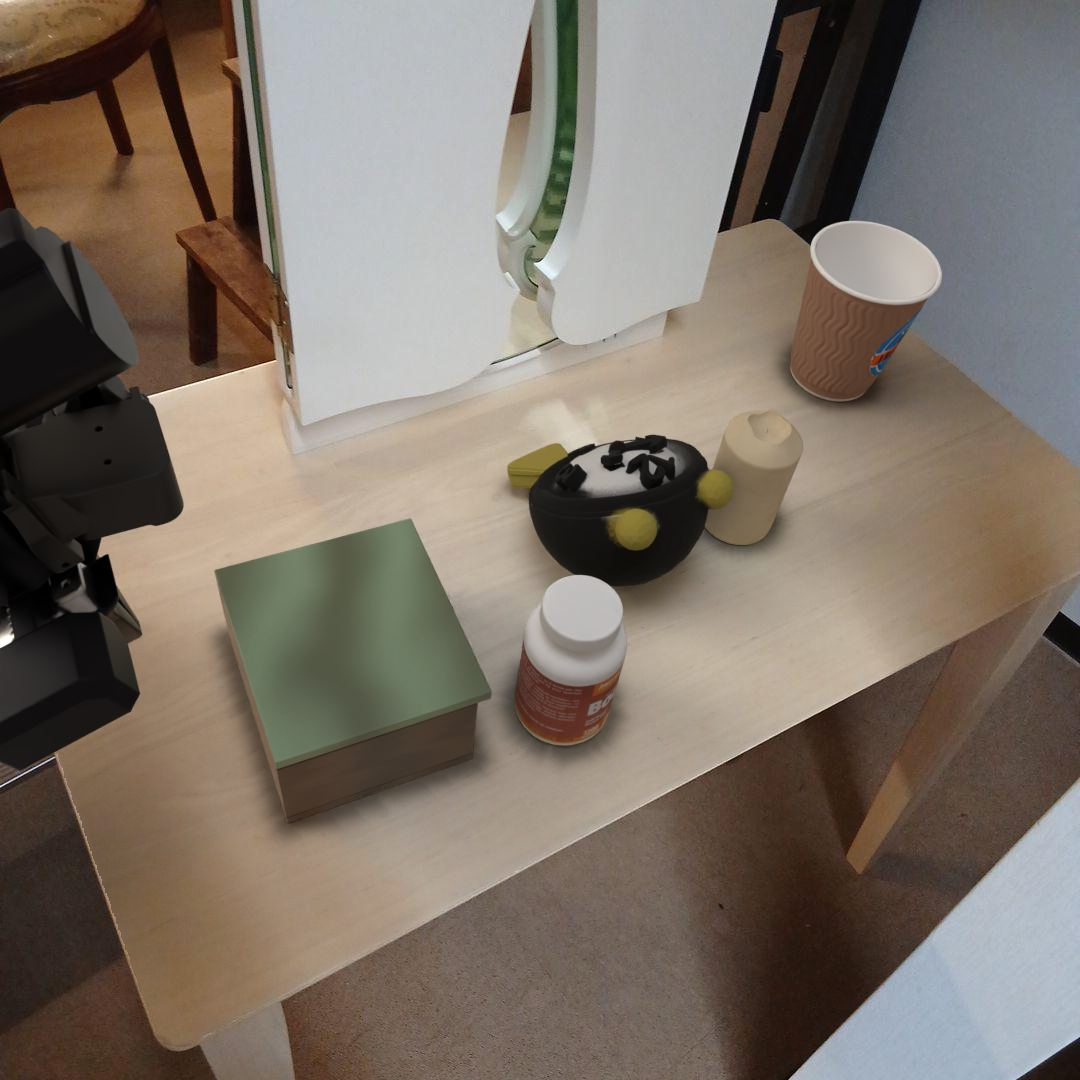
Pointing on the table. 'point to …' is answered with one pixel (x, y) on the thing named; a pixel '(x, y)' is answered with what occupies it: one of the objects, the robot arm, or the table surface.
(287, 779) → the chest
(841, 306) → the coffee cup
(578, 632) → the pill bottle
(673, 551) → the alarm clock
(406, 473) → the table surface
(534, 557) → the table surface
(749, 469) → the candle
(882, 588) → the table surface
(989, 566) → the table surface
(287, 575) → the lid
